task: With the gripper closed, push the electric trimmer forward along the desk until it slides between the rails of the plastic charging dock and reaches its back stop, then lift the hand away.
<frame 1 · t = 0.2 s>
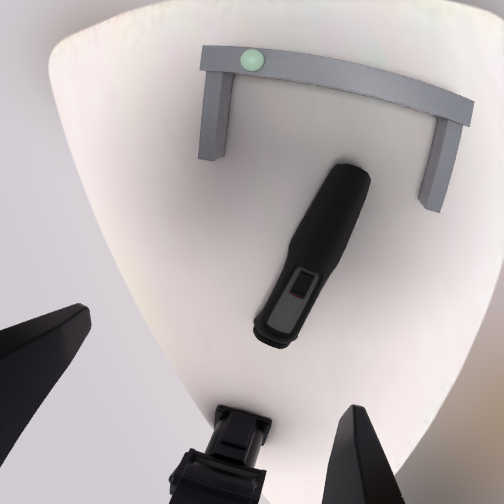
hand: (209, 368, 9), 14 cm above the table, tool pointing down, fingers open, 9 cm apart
charging dock: (322, 173, 19), on the table
electric trimmer: (306, 259, 23), on the table
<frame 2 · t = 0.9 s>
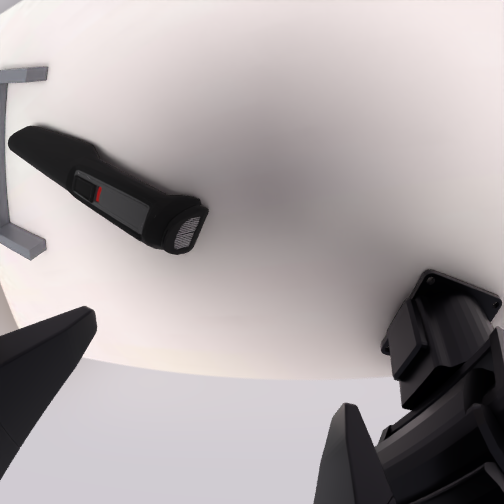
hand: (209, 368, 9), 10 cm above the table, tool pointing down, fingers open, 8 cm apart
charging dock: (40, 165, 19), on the table
electric trimmer: (107, 176, 19), on the table
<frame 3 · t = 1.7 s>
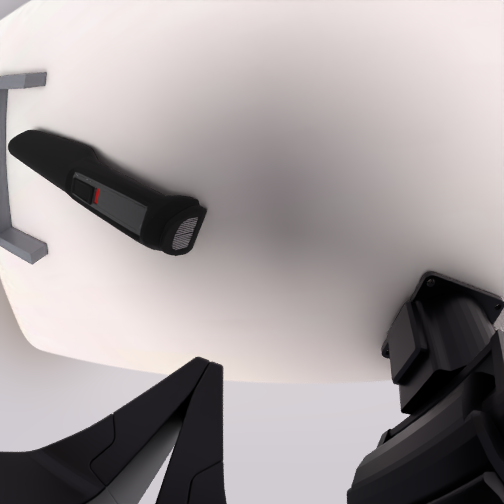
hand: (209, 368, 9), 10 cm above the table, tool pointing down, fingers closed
charging dock: (41, 170, 20), on the table
electric trimmer: (107, 178, 19), on the table
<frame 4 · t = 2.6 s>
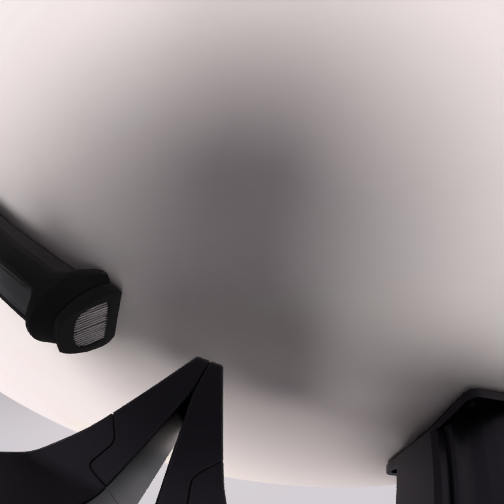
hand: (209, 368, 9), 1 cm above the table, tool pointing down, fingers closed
electric trimmer: (8, 227, 12), on the table
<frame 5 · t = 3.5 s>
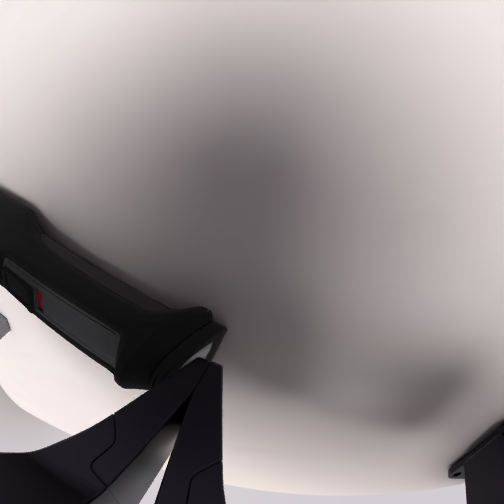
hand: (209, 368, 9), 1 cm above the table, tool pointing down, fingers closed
electric trimmer: (62, 253, 12), on the table, touching gripper
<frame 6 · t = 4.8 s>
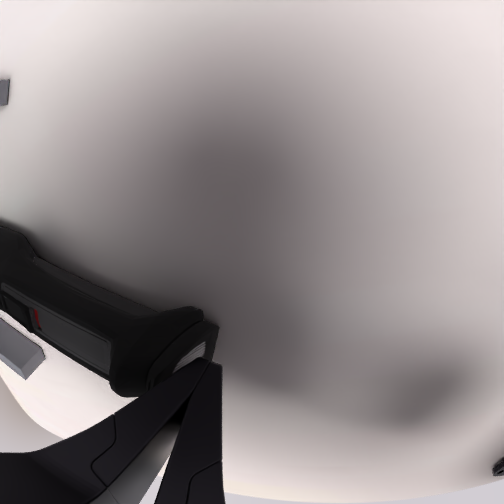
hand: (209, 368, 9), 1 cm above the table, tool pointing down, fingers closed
charging dock: (16, 250, 11), on the table
electric trimmer: (58, 274, 12), on the table, touching gripper
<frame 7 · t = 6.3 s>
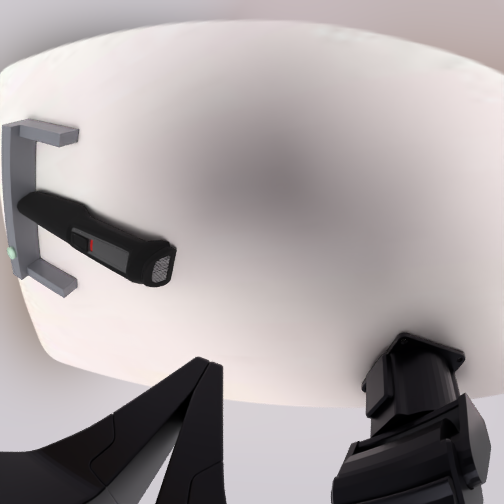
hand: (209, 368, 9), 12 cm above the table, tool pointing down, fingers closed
charging dock: (74, 217, 24), on the table
electric trimmer: (99, 228, 24), on the table
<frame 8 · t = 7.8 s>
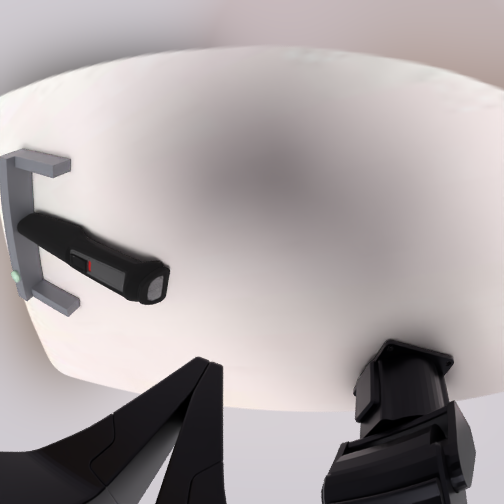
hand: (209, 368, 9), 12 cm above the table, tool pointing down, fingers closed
charging dock: (72, 241, 25), on the table
electric trimmer: (96, 247, 25), on the table
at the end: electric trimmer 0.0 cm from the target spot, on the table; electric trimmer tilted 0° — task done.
